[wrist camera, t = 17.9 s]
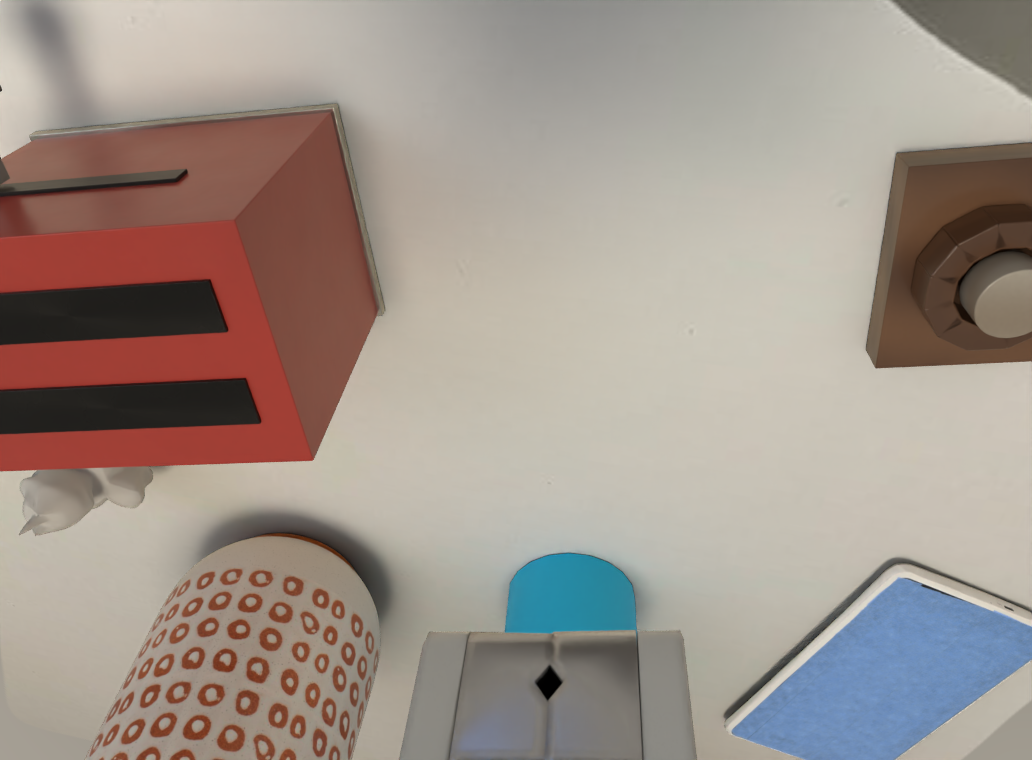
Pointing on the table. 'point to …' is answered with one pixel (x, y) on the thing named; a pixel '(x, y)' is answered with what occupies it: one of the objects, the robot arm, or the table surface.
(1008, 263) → the button
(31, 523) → the rubber duck
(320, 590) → the vase
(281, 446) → the toaster
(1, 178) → the toaster slider
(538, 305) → the table surface
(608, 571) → the mug
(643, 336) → the table surface
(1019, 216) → the control block
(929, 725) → the tablet
